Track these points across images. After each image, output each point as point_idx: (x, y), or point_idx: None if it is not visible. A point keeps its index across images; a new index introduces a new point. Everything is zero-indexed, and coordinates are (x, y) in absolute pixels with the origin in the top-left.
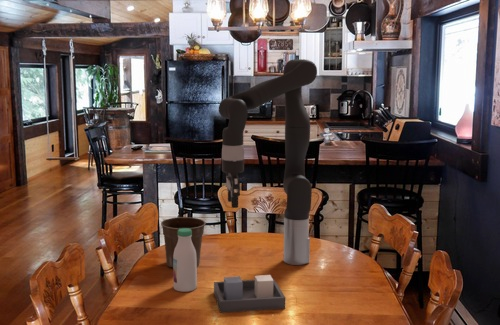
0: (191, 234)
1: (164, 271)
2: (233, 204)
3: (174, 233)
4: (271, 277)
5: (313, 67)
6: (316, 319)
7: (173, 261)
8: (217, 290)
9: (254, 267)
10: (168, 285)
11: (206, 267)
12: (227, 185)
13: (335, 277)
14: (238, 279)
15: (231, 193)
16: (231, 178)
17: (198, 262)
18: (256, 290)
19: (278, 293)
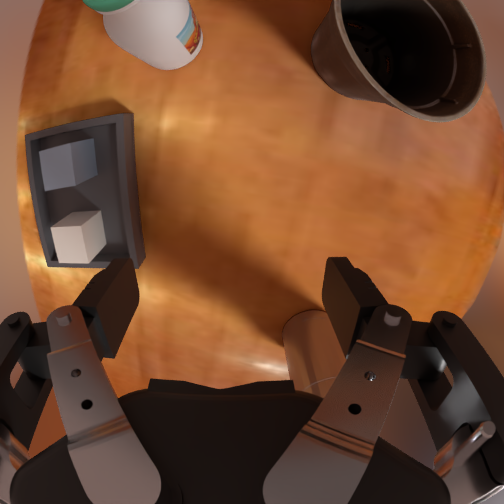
0: (104, 11)
1: (307, 4)
2: (93, 280)
3: None
4: (74, 262)
5: None
6: (35, 291)
7: None
8: (72, 124)
9: (293, 239)
10: (199, 6)
11: (321, 111)
12: (348, 361)
13: (204, 370)
14: (58, 181)
15: (59, 328)
16: (13, 493)
17: (338, 91)
18: (75, 216)
19: None
